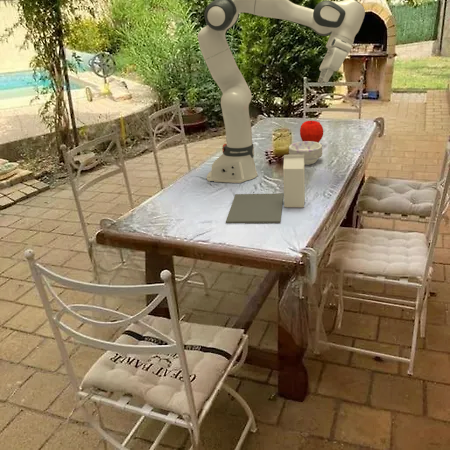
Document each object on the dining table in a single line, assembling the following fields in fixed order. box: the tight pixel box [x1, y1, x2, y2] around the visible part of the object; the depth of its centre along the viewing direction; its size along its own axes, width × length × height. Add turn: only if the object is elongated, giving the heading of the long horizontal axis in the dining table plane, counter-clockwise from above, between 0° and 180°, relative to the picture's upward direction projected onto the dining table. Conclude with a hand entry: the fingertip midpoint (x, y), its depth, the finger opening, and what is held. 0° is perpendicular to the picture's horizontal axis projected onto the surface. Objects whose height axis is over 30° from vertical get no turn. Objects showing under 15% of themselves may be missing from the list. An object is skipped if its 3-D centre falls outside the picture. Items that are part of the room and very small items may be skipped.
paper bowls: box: [288, 141, 323, 166], centre depth 222 cm, size 15×15×8 cm
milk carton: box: [282, 154, 306, 208], centre depth 175 cm, size 7×7×19 cm
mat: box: [225, 192, 284, 224], centre depth 178 cm, size 19×26×1 cm
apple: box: [299, 120, 324, 143], centre depth 243 cm, size 12×12×13 cm
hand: (322, 82), depth 181 cm, fingers open, 8 cm apart
